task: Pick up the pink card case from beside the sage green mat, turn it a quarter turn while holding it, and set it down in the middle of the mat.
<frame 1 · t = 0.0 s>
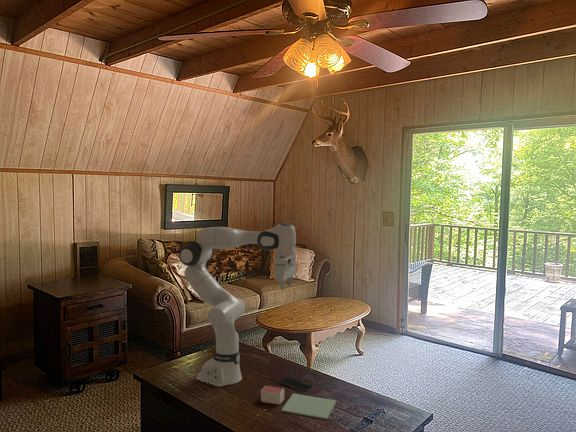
hand: (286, 287, 201), 48 cm above the table, tool pointing down, fingers open, 8 cm apart
mat: (309, 406, 186), on the table
phone: (295, 386, 207), on the table
card case: (272, 400, 192), on the table
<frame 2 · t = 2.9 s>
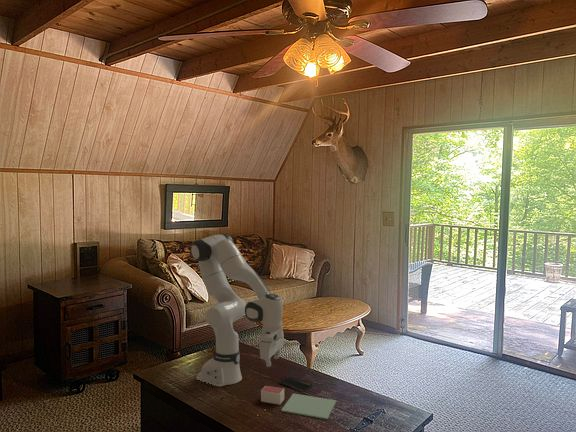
hand: (272, 362, 191), 17 cm above the table, tool pointing down, fingers open, 8 cm apart
nothing on the table moved.
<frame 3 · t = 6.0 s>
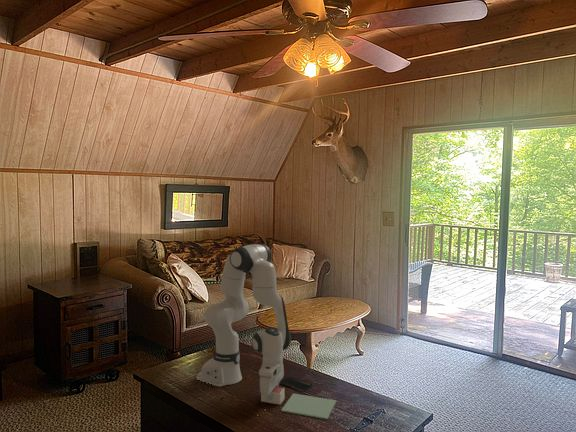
hand: (272, 395, 191), 2 cm above the table, tool pointing down, fingers closed on card case, 5 cm apart
card case: (272, 400, 191), on the table, touching gripper
everything else where it was.
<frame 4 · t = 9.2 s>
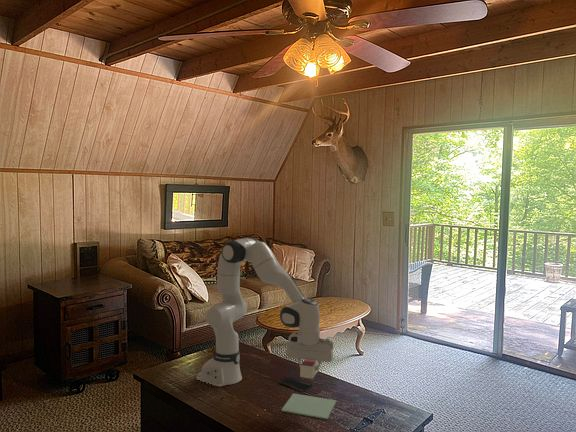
hand: (309, 369, 185), 16 cm above the table, tool pointing down, fingers closed on card case, 5 cm apart
card case: (309, 373, 185), point 15 cm above the table, touching gripper
everything else where it was.
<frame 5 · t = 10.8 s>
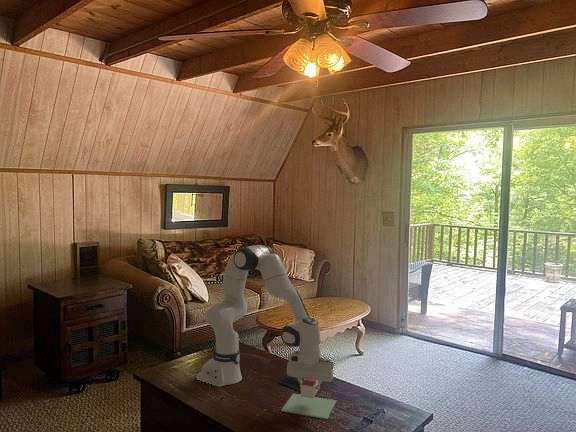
hand: (309, 388, 185), 8 cm above the table, tool pointing down, fingers closed on card case, 5 cm apart
card case: (309, 392, 185), point 6 cm above the table, touching gripper
everything else where it was.
when the fingers open (4 cm above the table, at t = 12.5 s): card case drops 1 cm, resting on mat.
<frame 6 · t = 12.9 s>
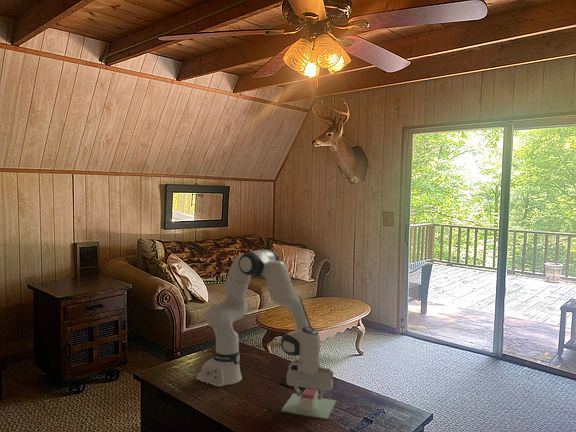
hand: (309, 397, 186), 4 cm above the table, tool pointing down, fingers open, 8 cm apart
card case: (309, 405, 186), point 1 cm above the table, touching mat
everything else where it was.
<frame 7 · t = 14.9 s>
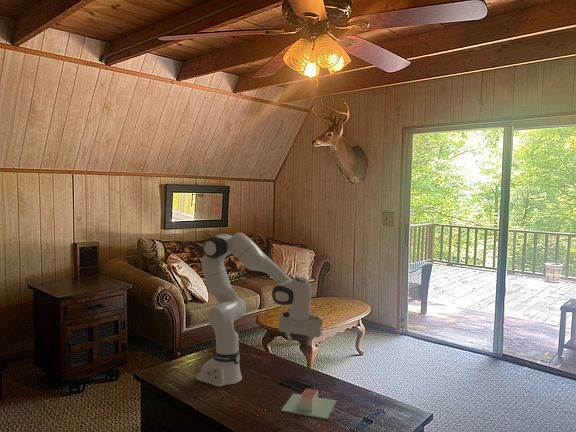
hand: (299, 343, 197), 23 cm above the table, tool pointing down, fingers open, 8 cm apart
nothing on the table moved.
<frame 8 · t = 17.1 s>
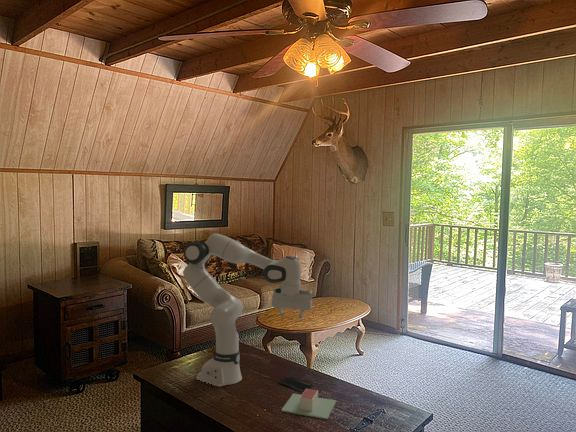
hand: (291, 317, 211), 31 cm above the table, tool pointing down, fingers open, 8 cm apart
nothing on the table moved.
at the end: card case inside the target area on the mat (0.2 cm from its centre), point 0.6 cm above the mat's base; card case tilted 0°; the gripper is holding nothing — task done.
